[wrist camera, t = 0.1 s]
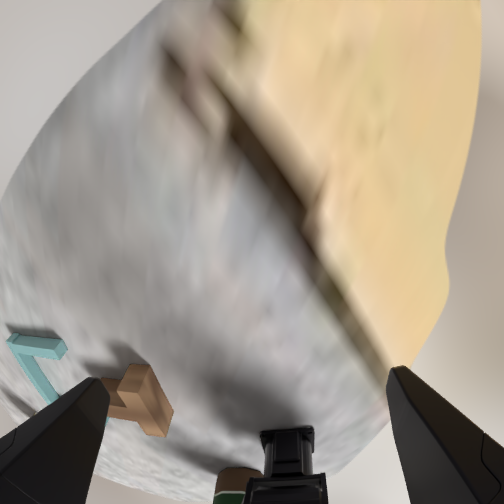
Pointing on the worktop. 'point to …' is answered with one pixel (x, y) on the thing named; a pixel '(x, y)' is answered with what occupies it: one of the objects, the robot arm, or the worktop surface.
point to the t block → (140, 400)
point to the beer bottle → (233, 485)
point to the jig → (35, 347)
